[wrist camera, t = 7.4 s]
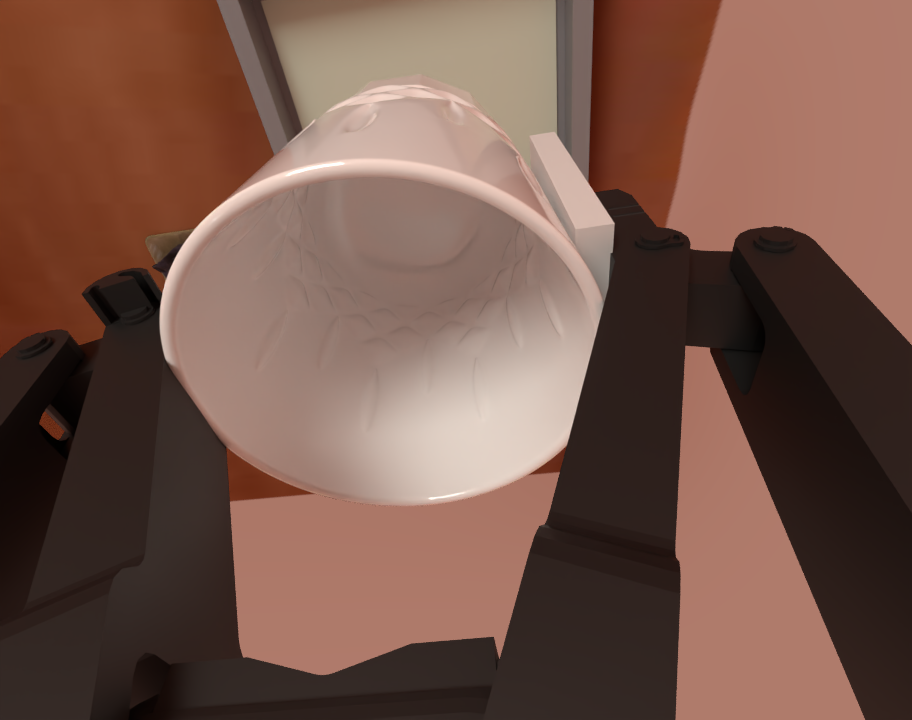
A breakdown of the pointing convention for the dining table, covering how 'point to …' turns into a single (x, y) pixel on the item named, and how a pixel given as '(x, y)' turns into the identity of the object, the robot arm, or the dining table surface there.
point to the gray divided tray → (421, 59)
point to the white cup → (386, 306)
